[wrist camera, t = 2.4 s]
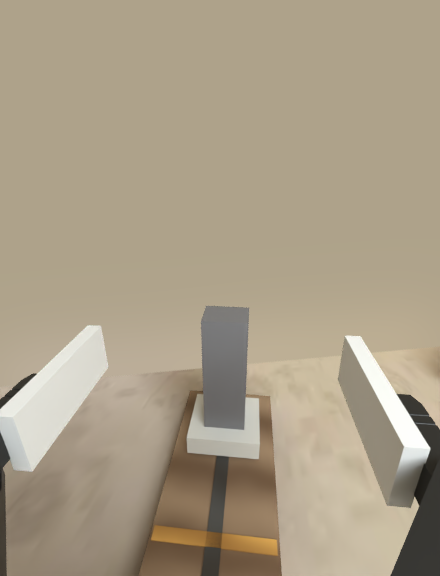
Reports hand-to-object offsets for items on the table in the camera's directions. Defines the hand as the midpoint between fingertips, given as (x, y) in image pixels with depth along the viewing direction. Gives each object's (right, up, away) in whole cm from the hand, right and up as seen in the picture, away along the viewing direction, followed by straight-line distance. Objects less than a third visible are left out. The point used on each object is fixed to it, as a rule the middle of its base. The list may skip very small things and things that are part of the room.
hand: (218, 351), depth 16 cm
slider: (+1, -12, +16) cm, 20 cm away
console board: (0, -16, +12) cm, 20 cm away
